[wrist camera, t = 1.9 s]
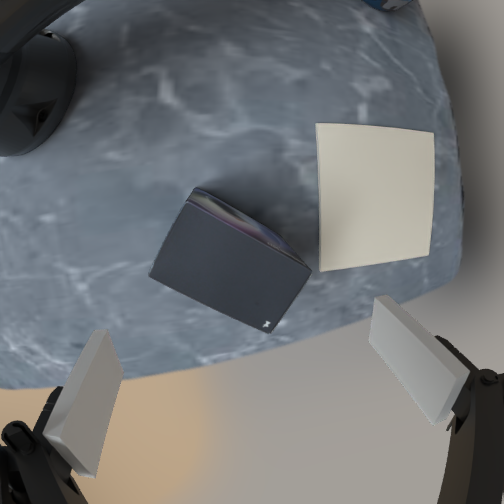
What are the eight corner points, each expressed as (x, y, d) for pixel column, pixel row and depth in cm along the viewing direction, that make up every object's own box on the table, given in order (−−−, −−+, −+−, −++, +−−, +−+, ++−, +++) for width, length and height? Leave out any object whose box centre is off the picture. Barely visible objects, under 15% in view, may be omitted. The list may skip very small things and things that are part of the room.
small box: (285, 233, 31) (319, 271, 21) (252, 283, 32) (271, 339, 22) (195, 182, 28) (187, 197, 18) (165, 238, 29) (144, 280, 19)
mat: (315, 123, 27) (317, 123, 27) (430, 133, 29) (433, 133, 28) (318, 269, 32) (320, 271, 32) (425, 254, 34) (428, 255, 34)
